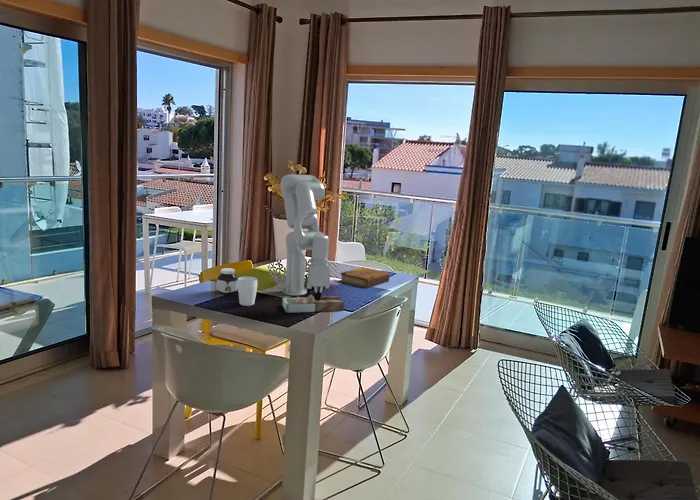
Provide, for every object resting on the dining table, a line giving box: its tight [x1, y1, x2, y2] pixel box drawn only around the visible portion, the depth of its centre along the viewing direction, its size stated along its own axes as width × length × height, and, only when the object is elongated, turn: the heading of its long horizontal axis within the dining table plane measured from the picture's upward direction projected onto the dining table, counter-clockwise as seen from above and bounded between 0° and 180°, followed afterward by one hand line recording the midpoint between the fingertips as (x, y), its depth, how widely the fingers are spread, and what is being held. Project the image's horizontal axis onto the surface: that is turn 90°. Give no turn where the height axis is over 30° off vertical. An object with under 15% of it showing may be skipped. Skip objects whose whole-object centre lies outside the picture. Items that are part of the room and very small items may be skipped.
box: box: [281, 297, 316, 313], centre depth 247 cm, size 13×11×4 cm
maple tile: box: [303, 294, 317, 304], centre depth 248 cm, size 5×5×2 cm
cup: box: [237, 276, 258, 307], centre depth 248 cm, size 9×9×12 cm
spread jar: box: [216, 267, 239, 295], centre depth 266 cm, size 12×11×12 cm
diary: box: [339, 266, 390, 289], centre depth 307 cm, size 23×19×6 cm
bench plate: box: [314, 295, 345, 312], centre depth 251 cm, size 14×9×4 cm, turn 107°
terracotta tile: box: [294, 295, 304, 304], centre depth 247 cm, size 5×5×2 cm
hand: (317, 300), depth 249 cm, fingers closed
